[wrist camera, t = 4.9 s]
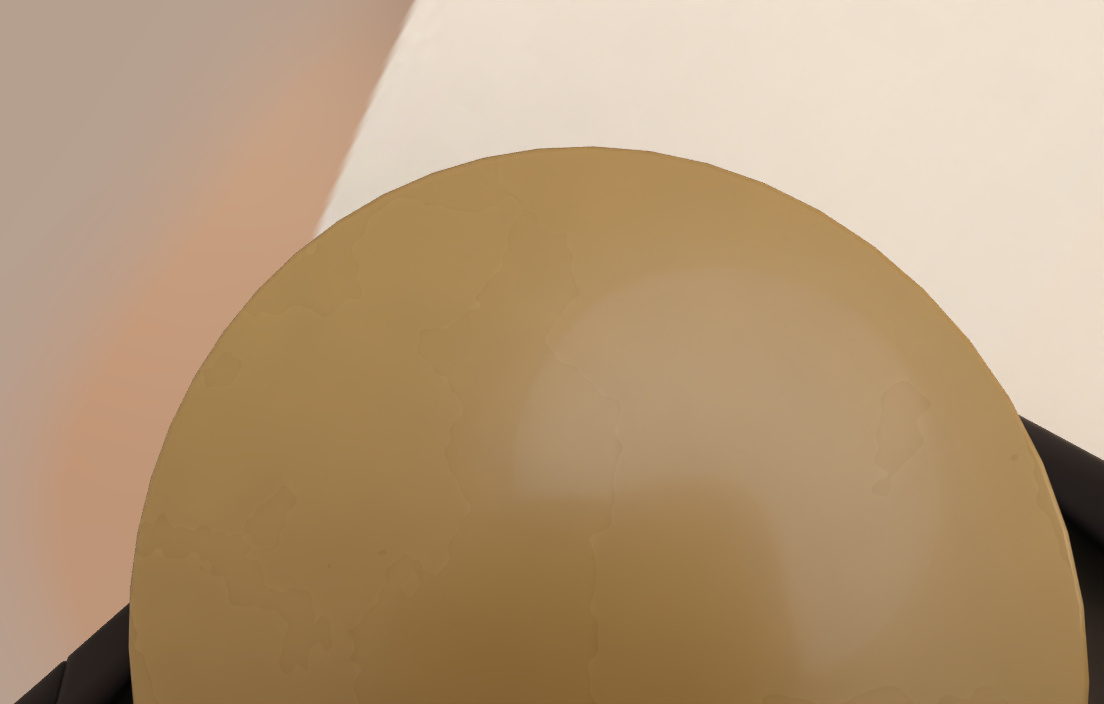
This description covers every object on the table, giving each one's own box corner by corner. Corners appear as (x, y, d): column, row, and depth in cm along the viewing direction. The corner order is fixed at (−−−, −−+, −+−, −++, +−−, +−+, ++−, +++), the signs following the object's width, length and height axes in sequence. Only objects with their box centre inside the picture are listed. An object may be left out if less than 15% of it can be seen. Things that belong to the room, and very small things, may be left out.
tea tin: (744, 671, 15) (998, 1410, 3) (475, 589, 17) (11, 920, 5) (800, 390, 16) (1163, 223, 4) (538, 334, 17) (266, 92, 6)
